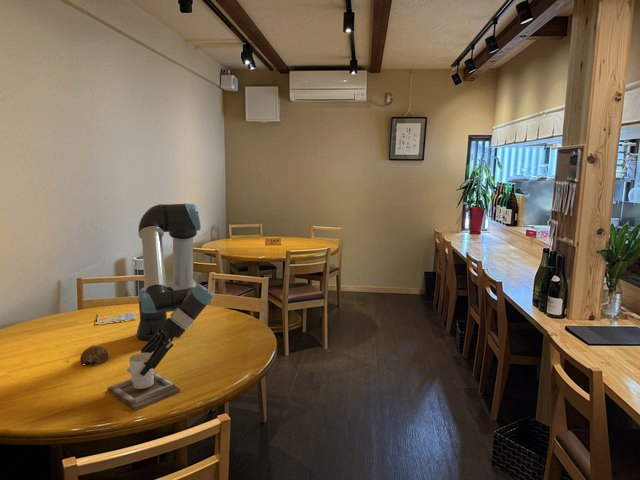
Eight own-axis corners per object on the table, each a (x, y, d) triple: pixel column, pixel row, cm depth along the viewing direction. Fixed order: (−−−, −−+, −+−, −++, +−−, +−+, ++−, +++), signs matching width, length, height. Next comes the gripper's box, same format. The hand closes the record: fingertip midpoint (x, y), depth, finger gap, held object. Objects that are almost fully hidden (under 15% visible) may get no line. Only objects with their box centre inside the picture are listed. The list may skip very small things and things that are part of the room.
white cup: (147, 391, 148) (145, 362, 147) (126, 388, 150) (124, 361, 148) (160, 380, 156) (158, 353, 155) (140, 378, 158) (138, 351, 156)
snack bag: (94, 326, 219) (94, 322, 218) (97, 314, 237) (97, 310, 237) (136, 321, 226) (135, 317, 225) (135, 310, 244) (135, 306, 244)
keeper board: (107, 390, 154) (107, 384, 153) (150, 374, 166) (150, 368, 165) (135, 410, 141) (135, 403, 141) (180, 392, 153) (179, 385, 153)
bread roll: (111, 368, 180) (116, 348, 182) (92, 367, 171) (97, 346, 173) (92, 364, 183) (97, 345, 185) (72, 363, 174) (78, 343, 176)
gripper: (193, 338, 150) (146, 395, 144) (178, 320, 167) (135, 370, 161) (176, 326, 146) (127, 384, 140) (163, 309, 163) (118, 360, 158)
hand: (132, 377), depth 151 cm, fingers closed on white cup, 8 cm apart
